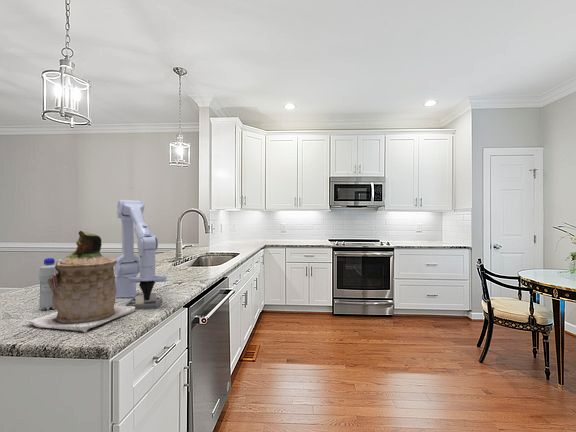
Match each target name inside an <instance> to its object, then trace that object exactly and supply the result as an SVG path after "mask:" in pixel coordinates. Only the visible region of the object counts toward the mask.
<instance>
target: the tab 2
mask: <svg viewBox="0 0 576 432" xmlns="http://www.w3.org/2000/svg"><path fill="white" fill-rule="evenodd" d="M157 298H158V291H151V294H150V299H149V300H157Z"/></svg>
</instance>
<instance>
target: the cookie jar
mask: <svg viewBox="0 0 576 432" xmlns="http://www.w3.org/2000/svg"><path fill="white" fill-rule="evenodd" d="M78 235H79V238H78V239H77V240H76V249H75V250H74V251H72V253H70V254H68V255H67V256H65V257H64V259H58V260H57V261H56V265H55V268H56V270H57V271H58V273H54V274H53V277H50V278H49V279H48V285H49V286H50V289H51V291H52V292H53V297H52V302H53V307H54V308H55V309H56V312H53V313H51V314H47V315H44V316H41V317H36V318H32V319H31V318H30V319H27V320H26V321H25V322H27V323H28V324H31V325H33V326H34V327H37V328H42V329H43V328H45V329H46V328H47V329H56V330H67V331H75V332H76V331H77V332H83V333H88V330H89V329H92V328H95V327H98V326H100V325H103V324H105V323H108V322H110V321H113V320H115V319H117V318H120V317H122V316H125V315H129V314H132V313H134V312H135V310H136V309H135V307H134V306H126V305H115V303H116V298H115V297H116V284H115V277H116V275H115V271H114V267H115V264H116V263H117V260H116V258H115V259H114V258H109V257H108V256H105V255H102V254H101V249H102V238H101V236H99V235H98V234H94V233H91V232H85V231H83V230H82V229H81V230H79V231H78Z"/></svg>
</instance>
